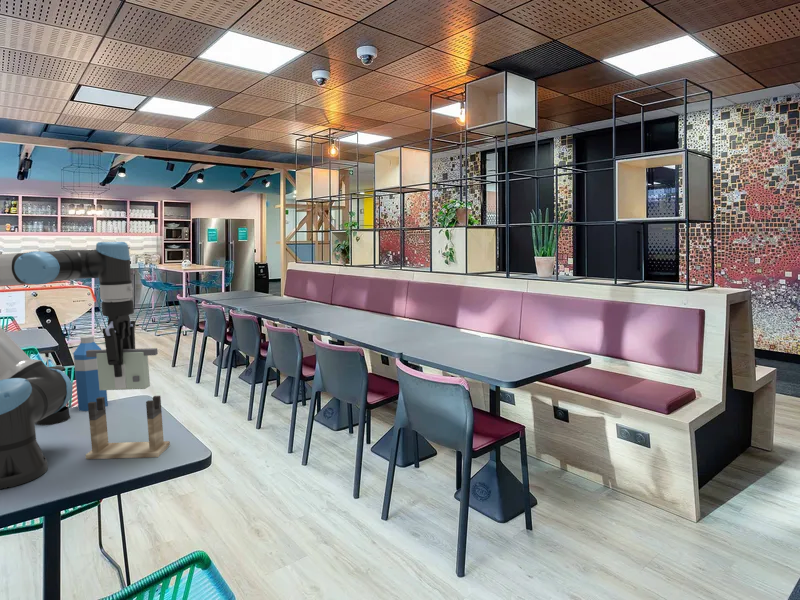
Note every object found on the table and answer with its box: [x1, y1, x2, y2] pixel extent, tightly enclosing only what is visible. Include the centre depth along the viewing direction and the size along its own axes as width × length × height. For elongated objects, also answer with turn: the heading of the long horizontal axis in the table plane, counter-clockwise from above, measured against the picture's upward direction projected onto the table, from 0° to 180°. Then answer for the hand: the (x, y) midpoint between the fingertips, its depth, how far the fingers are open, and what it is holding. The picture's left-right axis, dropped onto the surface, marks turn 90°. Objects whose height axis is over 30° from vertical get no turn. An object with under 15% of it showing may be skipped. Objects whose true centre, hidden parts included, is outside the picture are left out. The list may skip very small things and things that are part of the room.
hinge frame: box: [84, 395, 171, 460], centre depth 144 cm, size 19×8×15 cm, turn 92°
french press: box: [35, 349, 71, 426], centre depth 170 cm, size 12×9×23 cm
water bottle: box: [72, 335, 109, 412], centre depth 183 cm, size 9×9×25 cm
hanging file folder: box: [86, 347, 158, 391], centre depth 142 cm, size 18×4×11 cm, turn 92°
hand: (124, 385), depth 143 cm, fingers closed on hanging file folder, 3 cm apart
